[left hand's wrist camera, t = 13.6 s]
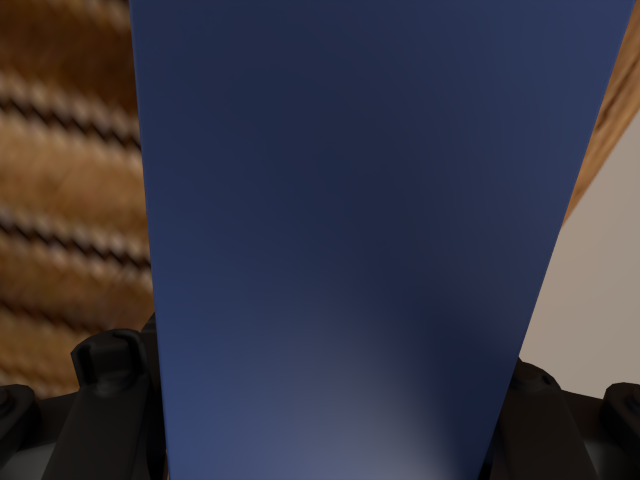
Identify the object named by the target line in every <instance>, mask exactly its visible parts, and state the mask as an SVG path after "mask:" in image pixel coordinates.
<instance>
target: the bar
mask: <svg viewBox="0 0 640 480" xmlns="http://www.w3.org/2000/svg"><path fill="white" fill-rule="evenodd" d="M634 4H635V0H129V8H130V20H131V32H132V44H133V56H134V68H135V80H136V92H137V104H138V115H139V127H140V139H141V151H142V163H143V175H144V187H145V199H146V211H147V222H148V234H149V246H150V258H151V270H152V282H153V294H154V306H155V318H156V329H157V341H158V353H159V365H160V377H161V389H162V401H163V413H164V425H165V436H166V448H167V460H168V472H169V480H478V478H479V475H480V472H481V469H482V466H483V463H484V459H485V456H486V453H487V450H488V447H489V444H490V441H491V438H492V435H493V432H494V429H495V426H496V423H497V420H498V417H499V414H500V411H501V408H502V405H503V402H504V399H505V396H506V393H507V390H508V387H509V383H510V380H511V377H512V374H513V371H514V368H515V365H516V362H517V359H518V356H519V353H520V350H521V347H522V344H523V341H524V338H525V335H526V332H527V329H528V326H529V323H530V320H531V317H532V313H533V311H534V308H535V304H536V301H537V298H538V295H539V292H540V289H541V286H542V283H543V280H544V277H545V274H546V271H547V268H548V265H549V262H550V259H551V256H552V252H553V250H554V247H555V244H556V241H557V238H558V235H559V232H560V228H561V225H562V222H563V219H564V216H565V213H566V210H567V207H568V204H569V201H570V198H571V195H572V192H573V189H574V186H575V183H576V180H577V177H578V174H579V171H580V168H581V165H582V162H583V159H584V156H585V152H586V149H587V146H588V143H589V140H590V137H591V134H592V131H593V128H594V125H595V122H596V119H597V116H598V113H599V110H600V107H601V104H602V101H603V98H604V95H605V92H606V89H607V86H608V83H609V80H610V76H611V73H612V70H613V67H614V64H615V61H616V58H617V55H618V52H619V49H620V46H621V43H622V40H623V37H624V34H625V31H626V28H627V25H628V22H629V19H630V16H631V13H632V10H633V7H634Z"/></svg>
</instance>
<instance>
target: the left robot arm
mask: <svg viewBox="0 0 640 480" xmlns="http://www.w3.org/2000/svg"><path fill="white" fill-rule="evenodd" d="M70 354H71V357H72V361H73V364H74V368H75V371H76V375H77V378H78V382H79V385H80V388H79V391H78V392H74V393H71V394H67V395H63V396H58V397H53V398H49V399H44V400H40V401H37V399H36V396H35V393H34V391H33V390H32V389H31V388H30V387H29V386H26V385H20V384H13V385H6V386H1V387H0V480H167V477H168V460H167V454H166V436H165V425H164V413H163V401H162V389H161V377H160V365H159V353H158V341H157V329H156V318H155V312H154V313H153V315H152V316H151V318H150V319H149V320H148V323H146V324H145V326H144V327H143V329H142V330H141V333H139V332H138V331H136V330H131V329H113V330H108V331H104V332H100V333H98V334H96V335H93V336H91V337H89V338H87V339H85V340H84V341H82V342H81V343H79V344H78V345H77V346H76V347H75V348H74V349H73V351H72V352H71V353H70ZM478 480H640V385H639V384H633V383H625V382H622V383H615V384H612V385H611V386H609V387H608V388H607V389H606V392H605V395H604V398H603V399H599V398H594V397H590V396H585V395H581V394H576V393H571V392H568V391H564V390H561V388H560V386H559V385H558V383H557V382H556V380H555V379H554V378H553V377H552V376H551V375H549V374H548V373H547V372H546V371H544V370H543V369H541V368H538V367H536V366H534V365H532V364H530V363H526V362H522V361H521V359H520V358H519V356H518V359H517V362H516V365H515V368H514V371H513V374H512V377H511V380H510V383H509V387H508V390H507V393H506V396H505V399H504V402H503V405H502V408H501V411H500V414H499V417H498V420H497V423H496V426H495V429H494V432H493V435H492V438H491V441H490V444H489V447H488V450H487V453H486V456H485V459H484V463H483V466H482V469H481V472H480V475H479V478H478Z"/></svg>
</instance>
